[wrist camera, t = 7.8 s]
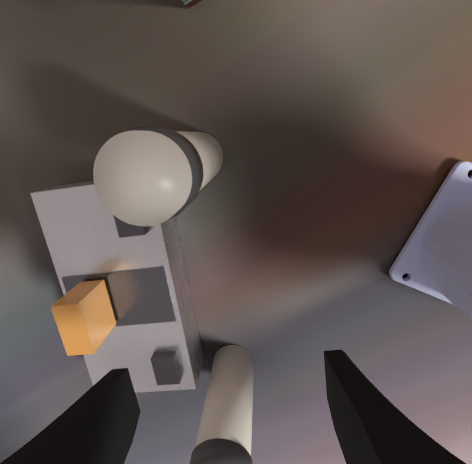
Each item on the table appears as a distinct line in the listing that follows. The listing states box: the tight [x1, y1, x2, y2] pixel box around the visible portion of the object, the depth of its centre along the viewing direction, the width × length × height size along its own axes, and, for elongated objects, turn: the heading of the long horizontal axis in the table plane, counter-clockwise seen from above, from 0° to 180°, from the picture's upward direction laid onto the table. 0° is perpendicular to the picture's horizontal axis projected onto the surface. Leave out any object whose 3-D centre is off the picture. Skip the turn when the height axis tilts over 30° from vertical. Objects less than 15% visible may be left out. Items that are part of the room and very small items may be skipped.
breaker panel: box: [30, 180, 204, 392], centre depth 21 cm, size 7×14×4 cm, turn 8°
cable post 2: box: [190, 345, 254, 464], centre depth 19 cm, size 3×3×10 cm
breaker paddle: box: [51, 280, 116, 356], centre depth 18 cm, size 2×3×3 cm, turn 8°
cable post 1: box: [93, 127, 223, 226], centre depth 15 cm, size 3×3×10 cm
